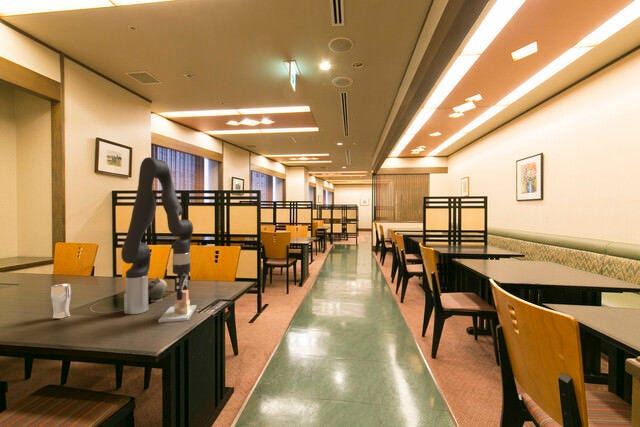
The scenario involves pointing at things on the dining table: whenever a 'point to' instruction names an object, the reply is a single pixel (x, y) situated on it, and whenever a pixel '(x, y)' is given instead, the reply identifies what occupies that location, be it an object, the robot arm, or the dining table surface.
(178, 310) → the beech block
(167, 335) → the dining table surface
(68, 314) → the beer glass
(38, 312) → the dining table surface
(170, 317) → the build board
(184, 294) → the terracotta block
